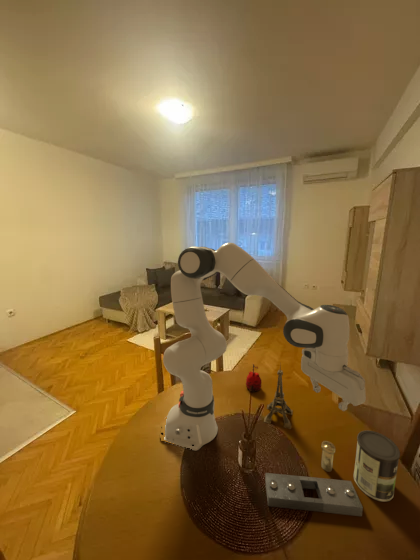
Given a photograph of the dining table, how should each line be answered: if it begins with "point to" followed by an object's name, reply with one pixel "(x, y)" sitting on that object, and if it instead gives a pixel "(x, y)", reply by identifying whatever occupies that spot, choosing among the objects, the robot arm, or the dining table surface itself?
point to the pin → (327, 455)
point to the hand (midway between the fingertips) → (329, 399)
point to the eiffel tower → (279, 404)
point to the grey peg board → (330, 492)
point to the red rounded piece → (253, 381)
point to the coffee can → (376, 465)
